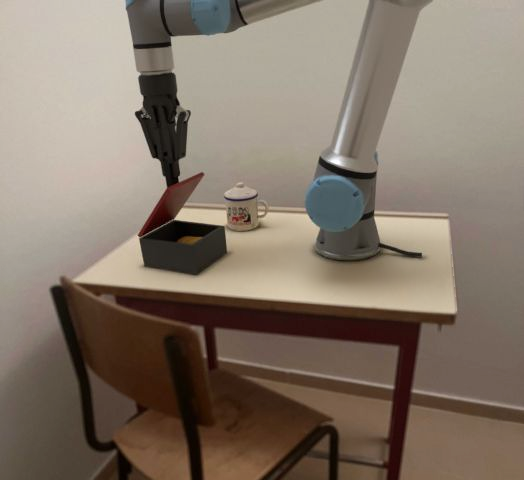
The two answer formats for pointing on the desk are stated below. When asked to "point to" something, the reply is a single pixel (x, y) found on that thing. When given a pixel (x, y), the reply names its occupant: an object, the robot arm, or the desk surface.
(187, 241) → the bread roll
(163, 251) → the dark grey open box
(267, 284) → the desk surface
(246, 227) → the teacup with lid
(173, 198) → the red box lid
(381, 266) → the desk surface
